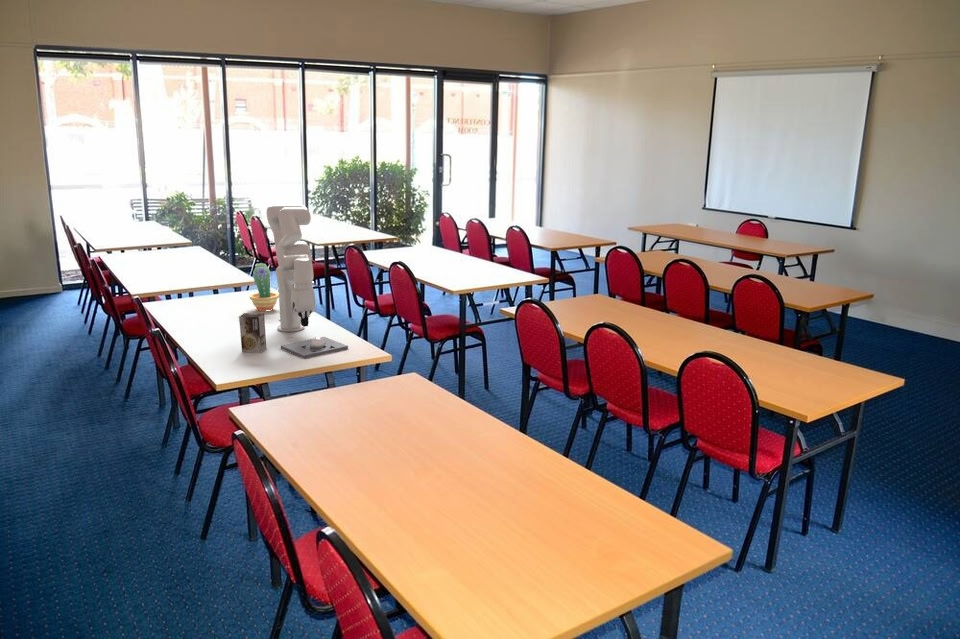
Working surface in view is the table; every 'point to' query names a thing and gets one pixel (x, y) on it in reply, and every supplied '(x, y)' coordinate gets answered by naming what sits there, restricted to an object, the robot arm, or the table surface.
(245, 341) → the coffee box
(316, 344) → the metal ball
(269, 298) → the potted cactus
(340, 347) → the hole board
